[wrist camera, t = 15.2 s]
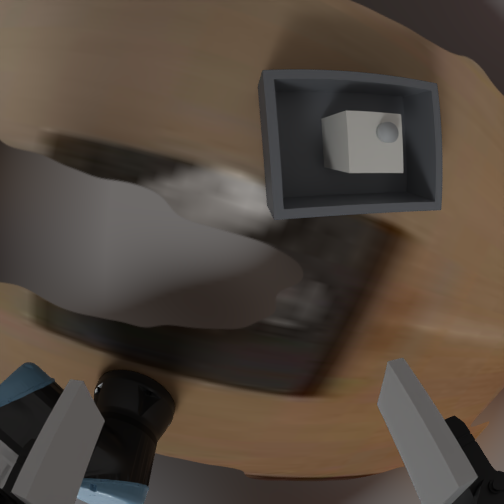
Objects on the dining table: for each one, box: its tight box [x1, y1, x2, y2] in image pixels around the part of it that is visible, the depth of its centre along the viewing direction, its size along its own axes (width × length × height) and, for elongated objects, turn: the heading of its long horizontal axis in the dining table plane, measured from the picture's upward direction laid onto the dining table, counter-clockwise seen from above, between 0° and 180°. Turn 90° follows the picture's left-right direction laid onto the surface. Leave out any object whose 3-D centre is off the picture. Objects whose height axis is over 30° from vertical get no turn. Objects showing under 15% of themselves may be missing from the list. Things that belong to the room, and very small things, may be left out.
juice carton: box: [321, 110, 403, 173], centre depth 30 cm, size 6×6×10 cm
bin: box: [258, 69, 442, 220], centre depth 32 cm, size 20×15×8 cm
